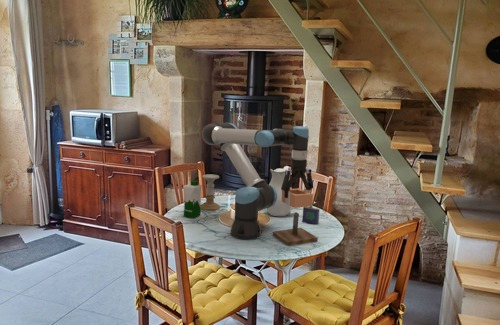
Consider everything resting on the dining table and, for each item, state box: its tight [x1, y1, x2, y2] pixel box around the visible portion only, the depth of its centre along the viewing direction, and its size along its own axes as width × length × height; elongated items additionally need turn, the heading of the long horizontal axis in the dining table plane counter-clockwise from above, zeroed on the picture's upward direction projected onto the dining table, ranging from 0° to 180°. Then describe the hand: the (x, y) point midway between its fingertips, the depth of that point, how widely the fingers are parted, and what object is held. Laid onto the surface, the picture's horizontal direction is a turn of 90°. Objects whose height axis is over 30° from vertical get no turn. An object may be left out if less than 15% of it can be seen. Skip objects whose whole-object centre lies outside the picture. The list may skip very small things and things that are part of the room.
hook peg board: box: [272, 212, 319, 247], centre depth 186 cm, size 17×15×13 cm
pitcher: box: [266, 165, 293, 217], centre depth 227 cm, size 24×17×28 cm
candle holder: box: [201, 173, 221, 212], centre depth 229 cm, size 12×12×20 cm
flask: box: [301, 204, 320, 226], centre depth 210 cm, size 9×3×11 cm, turn 68°
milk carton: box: [182, 180, 202, 220], centre depth 212 cm, size 9×9×20 cm
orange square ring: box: [281, 187, 314, 209], centre depth 184 cm, size 10×12×6 cm
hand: (296, 203), depth 185 cm, fingers closed on orange square ring, 10 cm apart
